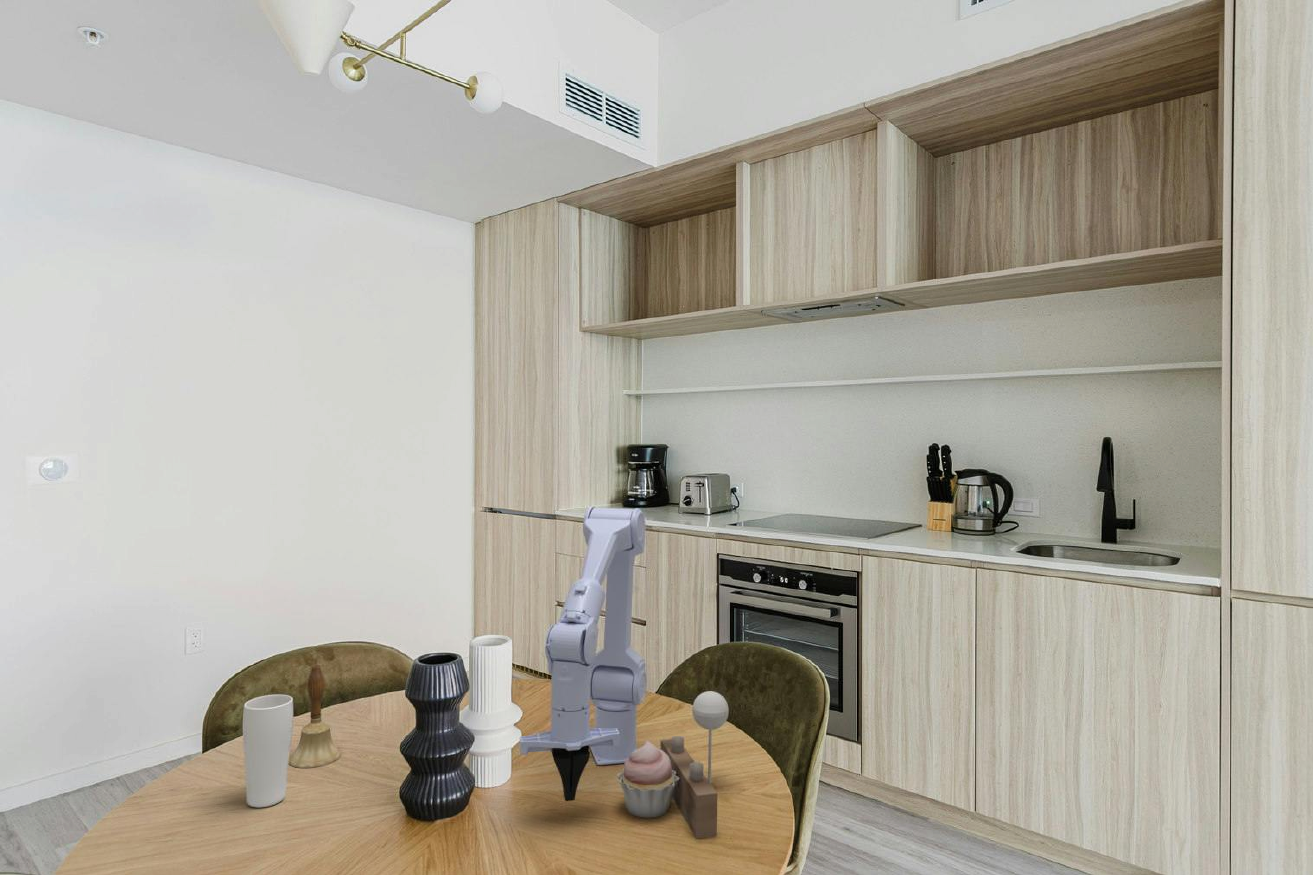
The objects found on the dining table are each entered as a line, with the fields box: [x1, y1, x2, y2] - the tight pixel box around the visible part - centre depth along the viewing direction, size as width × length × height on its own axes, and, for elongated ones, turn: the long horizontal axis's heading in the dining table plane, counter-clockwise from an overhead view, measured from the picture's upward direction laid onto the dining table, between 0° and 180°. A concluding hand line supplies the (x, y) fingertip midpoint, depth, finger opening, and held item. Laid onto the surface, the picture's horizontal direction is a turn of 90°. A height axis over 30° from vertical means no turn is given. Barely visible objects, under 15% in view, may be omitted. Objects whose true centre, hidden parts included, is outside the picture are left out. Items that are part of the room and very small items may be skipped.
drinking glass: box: [242, 693, 294, 808], centre depth 111 cm, size 7×7×15 cm
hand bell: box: [288, 664, 342, 769], centre depth 126 cm, size 8×8×16 cm
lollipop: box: [691, 690, 730, 785], centre depth 118 cm, size 6×6×15 cm
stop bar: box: [659, 735, 718, 840], centre depth 112 cm, size 20×3×8 cm, turn 14°
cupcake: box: [616, 740, 680, 819], centre depth 110 cm, size 9×9×10 cm
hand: (569, 797), depth 107 cm, fingers closed
